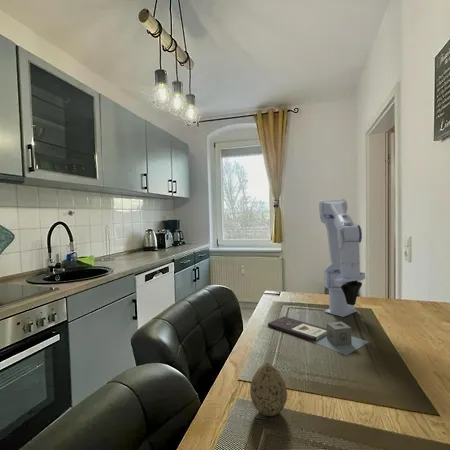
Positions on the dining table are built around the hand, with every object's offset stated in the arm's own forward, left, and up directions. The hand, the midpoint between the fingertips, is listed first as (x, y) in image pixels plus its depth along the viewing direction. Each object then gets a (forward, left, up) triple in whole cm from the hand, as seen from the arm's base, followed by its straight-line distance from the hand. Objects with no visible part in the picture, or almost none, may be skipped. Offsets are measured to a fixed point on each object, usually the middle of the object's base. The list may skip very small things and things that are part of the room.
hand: (351, 304), depth 94 cm
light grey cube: (+10, +2, -9) cm, 14 cm away
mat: (+10, +2, -9) cm, 13 cm away
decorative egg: (+48, +11, -9) cm, 50 cm away
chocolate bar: (+12, -12, -9) cm, 19 cm away
